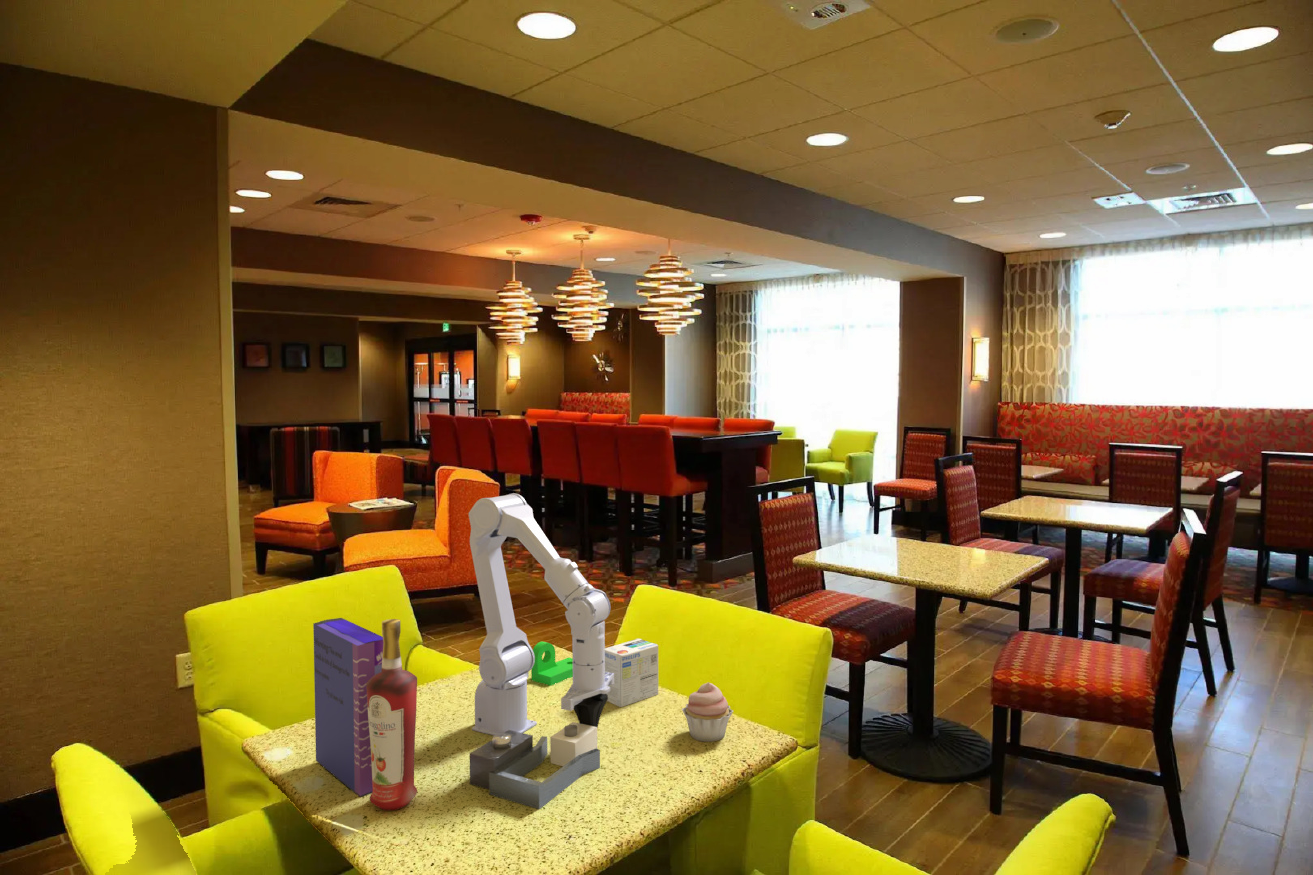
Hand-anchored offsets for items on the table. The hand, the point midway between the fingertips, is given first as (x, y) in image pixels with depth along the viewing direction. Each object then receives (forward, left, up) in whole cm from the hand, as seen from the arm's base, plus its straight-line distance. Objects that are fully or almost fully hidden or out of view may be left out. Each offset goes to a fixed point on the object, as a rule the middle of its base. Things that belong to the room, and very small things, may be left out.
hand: (589, 736), depth 135 cm
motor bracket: (0, -14, -2) cm, 14 cm away
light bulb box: (-5, +24, -2) cm, 24 cm away
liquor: (-16, -30, -2) cm, 34 cm away
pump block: (0, -5, -2) cm, 5 cm away
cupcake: (+17, +14, -2) cm, 22 cm away
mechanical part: (-26, +28, -2) cm, 38 cm away
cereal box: (-30, -26, -2) cm, 40 cm away
